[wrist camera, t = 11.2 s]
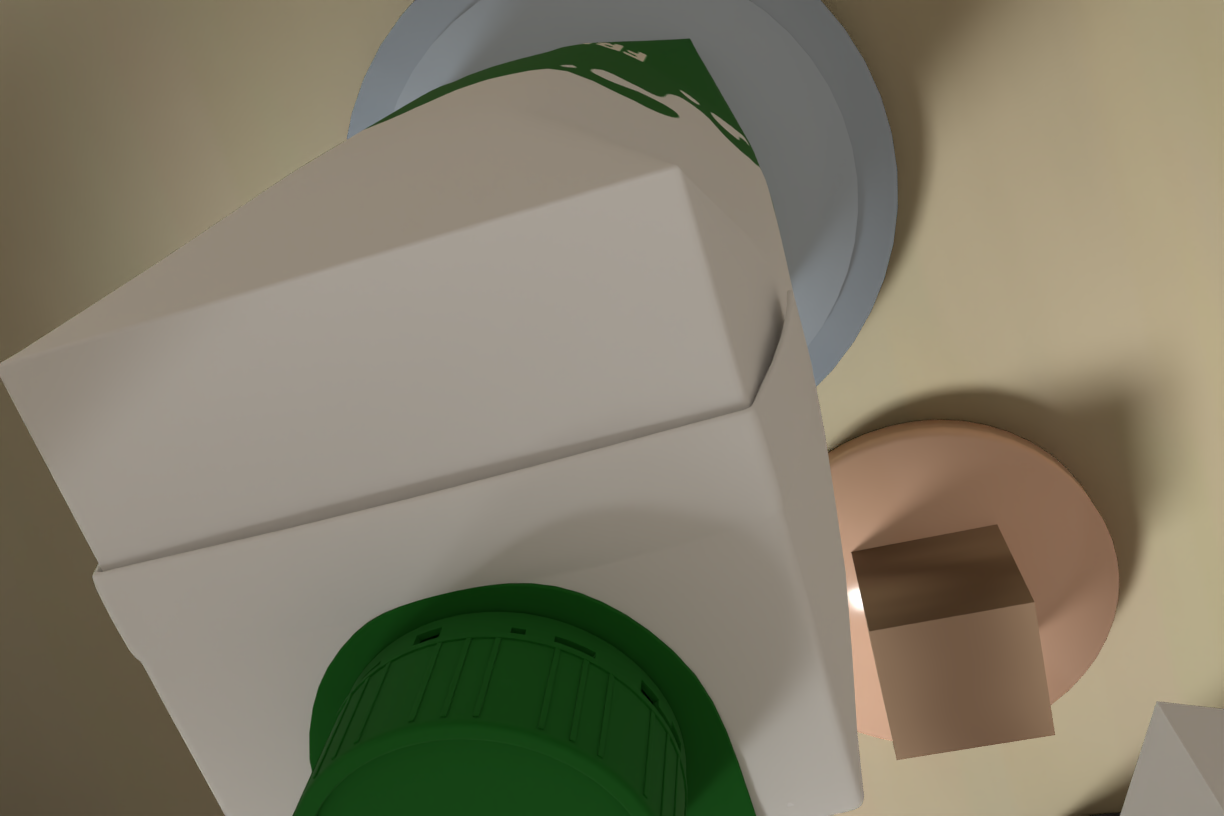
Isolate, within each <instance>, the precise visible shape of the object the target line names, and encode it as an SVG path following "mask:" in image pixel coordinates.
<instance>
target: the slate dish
mask: <svg viewBox="0 0 1224 816" xmlns="http://www.w3.org/2000/svg"><path fill="white" fill-rule="evenodd" d="M687 38H689V39H691V41H692V43H693V45H694V47H695V49H696V51H697V52H698V54H699V56H700V58H701V59H702V61H703V63H704V64H705V66H706V68H707V70H708V71H709V73H710V75H711V76H712V78H713V80H714V82H715V83H716V85H717V87H718V89H719V90H720V92H721V94H722V96H723V97H724V99H725V101H726V102H727V104H728V106H729V108H730V109H731V111H732V113H733V115H734V116H735V118H736V120H737V122H738V123H739V125H740V127H741V129H742V131H743V132H744V134H745V136H746V138H747V139H748V141H749V143H750V145H751V147H752V149H753V151H754V153H755V156H756V158H757V161H758V163H759V166H760V168H761V170H762V173H763V175H764V177H765V180H766V183H767V186H768V189H769V192H770V196H771V199H772V202H773V206H774V210H775V214H776V218H777V223H778V227H779V231H780V236H781V240H782V244H783V249H784V253H785V258H786V262H787V266H788V271H789V275H790V280H791V284H792V289H793V293H794V298H795V301H796V305H797V309H798V313H799V317H800V320H801V324H802V328H803V332H804V336H805V340H806V344H807V348H808V352H809V356H810V360H811V364H812V369H813V375H814V379H815V384H816V386H817V385H818V384H819V383H820V382H821V381H822V380H823V379H824V378H825V377H826V376H827V375H828V374H829V373H830V372H831V371H832V370H833V369H834V367H835V366H836V365H837V363H838V362H839V361H840V359H841V358H842V357H843V355H844V354H845V353H846V351H847V350H848V349H849V347H850V346H851V345H852V343H853V342H854V341H855V339H856V337H857V335H858V333H859V332H860V330H861V328H862V326H863V325H864V323H865V321H866V319H867V318H868V316H869V314H870V312H871V310H872V308H873V305H874V303H875V300H876V298H877V295H878V293H879V290H880V288H881V286H882V283H883V281H884V278H885V274H886V270H887V266H888V263H889V259H890V255H891V251H892V247H893V243H894V235H895V226H896V218H897V210H898V185H897V165H896V158H895V152H894V145H893V138H892V132H891V129H890V126H889V122H888V119H887V115H886V112H885V109H884V105H883V102H882V98H881V96H880V93H879V91H878V89H877V87H876V84H875V82H874V80H873V78H872V75H871V73H870V71H869V69H868V67H867V64H866V62H865V60H864V59H863V57H862V56H861V54H860V52H859V51H858V49H857V48H856V46H855V44H854V43H853V41H852V40H851V38H850V36H849V35H848V33H847V32H846V30H845V29H844V27H843V26H842V25H841V24H840V23H839V21H838V20H837V19H836V18H835V17H834V15H833V14H832V13H831V12H830V11H829V9H828V8H827V7H826V6H825V5H824V4H823V2H822V1H821V0H415V1H414V2H413V3H412V4H411V5H410V6H409V7H408V8H407V9H406V11H405V12H404V13H403V14H402V15H401V17H400V18H399V19H398V21H397V22H396V24H395V25H394V27H393V28H392V30H391V31H390V32H389V34H388V35H387V37H386V38H385V40H384V41H383V43H382V44H381V46H380V48H379V50H378V52H377V53H376V55H375V57H374V59H373V61H372V63H371V65H370V67H369V69H368V71H367V73H366V75H365V77H364V80H363V83H362V85H361V88H360V91H359V94H358V97H357V100H356V103H355V106H354V109H353V111H352V116H351V121H350V126H349V131H348V135H347V139H349V138H351V137H352V136H354V135H356V134H357V133H359V132H361V131H362V130H364V129H366V128H368V127H369V126H371V125H373V124H374V123H376V122H378V121H379V120H381V119H383V118H385V117H386V116H388V115H390V114H391V113H393V112H395V111H396V110H398V109H400V108H402V107H403V106H405V105H407V104H408V103H410V102H412V101H414V100H415V99H417V98H419V97H421V96H422V95H424V94H426V93H428V92H429V91H432V90H434V89H436V88H438V87H440V86H443V85H446V84H449V83H452V82H454V81H456V80H459V79H461V78H463V77H466V76H468V75H470V74H473V73H476V72H479V71H482V70H484V69H487V68H490V67H493V66H496V65H500V64H503V63H507V62H510V61H514V60H517V59H521V58H525V57H529V56H533V55H537V54H541V53H545V52H549V51H552V50H555V49H558V48H561V47H566V46H572V45H578V44H583V43H598V42H622V41H648V40H672V39H687Z"/></svg>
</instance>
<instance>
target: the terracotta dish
mask: <svg viewBox="0 0 1224 816" xmlns="http://www.w3.org/2000/svg"><path fill="white" fill-rule="evenodd" d="M828 457H829V463H830V470H831V476H832V483H833V489H834V496H835V503H836V510H837V516H838V523H839V530H840V537H841V544H842V550H843V557H844V564H845V571H846V583H847V595H848V607H849V620H850V632H851V645H852V658H853V674H854V689H855V705H856V720H857V732H860V733H863V734H867V735H870V736H873V737H877V738H880V739H886V740H891V741H893V740H892V736H891V732H890V727H889V723H888V718H887V714H886V709H885V705H884V700H883V696H882V692H881V687H880V683H879V678H878V674H877V669H876V665H875V660H874V655H873V651H872V646H871V642H870V637H869V632H868V628H867V623H866V618H865V614H864V609H863V604H862V600H861V595H860V590H859V586H858V581H857V577H856V572H855V567H854V563H853V558H852V553H851V552H853V551H858V550H864V549H869V548H874V547H880V546H885V545H890V544H895V543H901V542H906V541H911V540H917V539H922V538H927V537H932V536H938V535H943V534H948V533H954V532H959V531H964V530H969V529H975V528H980V527H985V526H991V525H996V524H997V525H998V527H999V529H1000V531H1001V533H1002V535H1003V537H1004V540H1005V542H1006V544H1007V546H1008V548H1009V550H1010V552H1011V554H1012V556H1013V558H1014V560H1015V562H1016V565H1017V567H1018V569H1019V571H1020V573H1021V575H1022V577H1023V579H1024V581H1025V583H1026V585H1027V587H1028V589H1029V592H1030V594H1031V596H1032V598H1033V600H1034V602H1035V608H1036V615H1037V621H1038V627H1039V634H1040V640H1041V647H1042V653H1043V660H1044V666H1045V673H1046V679H1047V686H1048V692H1049V699H1050V705H1052V704H1053V703H1054V702H1055V701H1057V700H1058V699H1059V698H1060V697H1061V696H1063V695H1064V694H1065V693H1066V692H1068V691H1069V690H1070V689H1071V688H1072V687H1073V685H1074V684H1075V683H1076V682H1077V681H1078V680H1079V679H1080V678H1081V677H1082V676H1083V675H1084V674H1085V672H1086V671H1087V670H1088V668H1089V667H1090V666H1091V664H1092V663H1093V662H1094V660H1095V659H1096V657H1097V656H1098V654H1099V652H1100V650H1101V648H1102V647H1103V645H1104V643H1105V641H1106V639H1107V636H1108V634H1109V631H1110V629H1111V626H1112V623H1113V621H1114V617H1115V612H1116V608H1117V603H1118V594H1119V571H1118V560H1117V556H1116V552H1115V548H1114V544H1113V541H1112V538H1111V536H1110V533H1109V531H1108V529H1107V527H1106V524H1105V522H1104V520H1103V518H1102V517H1101V515H1100V514H1099V512H1098V511H1097V509H1096V508H1095V506H1094V504H1093V503H1092V501H1091V500H1090V498H1089V497H1088V495H1087V494H1086V492H1085V491H1084V489H1083V488H1082V486H1081V485H1080V483H1079V482H1078V481H1077V480H1076V479H1075V478H1074V476H1073V475H1072V474H1071V473H1070V472H1069V471H1068V470H1067V469H1066V467H1064V466H1063V465H1062V464H1061V463H1060V462H1059V461H1057V460H1056V459H1055V458H1054V457H1053V456H1051V455H1050V454H1049V453H1048V452H1046V451H1044V450H1043V449H1041V448H1040V447H1038V446H1036V445H1035V444H1033V443H1032V442H1030V441H1028V440H1026V439H1024V438H1021V437H1019V436H1017V435H1015V434H1013V433H1010V432H1008V431H1005V430H1001V429H998V428H995V427H992V426H988V425H984V424H978V423H973V422H967V421H957V420H925V421H913V422H907V423H902V424H897V425H891V426H888V427H885V428H881V429H878V430H875V431H872V432H868V433H866V434H864V435H861V436H859V437H857V438H855V439H852V440H850V441H848V442H846V443H844V444H842V445H841V446H839V447H837V448H836V449H834V450H832V451H831V452H829V453H828Z"/></svg>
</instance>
